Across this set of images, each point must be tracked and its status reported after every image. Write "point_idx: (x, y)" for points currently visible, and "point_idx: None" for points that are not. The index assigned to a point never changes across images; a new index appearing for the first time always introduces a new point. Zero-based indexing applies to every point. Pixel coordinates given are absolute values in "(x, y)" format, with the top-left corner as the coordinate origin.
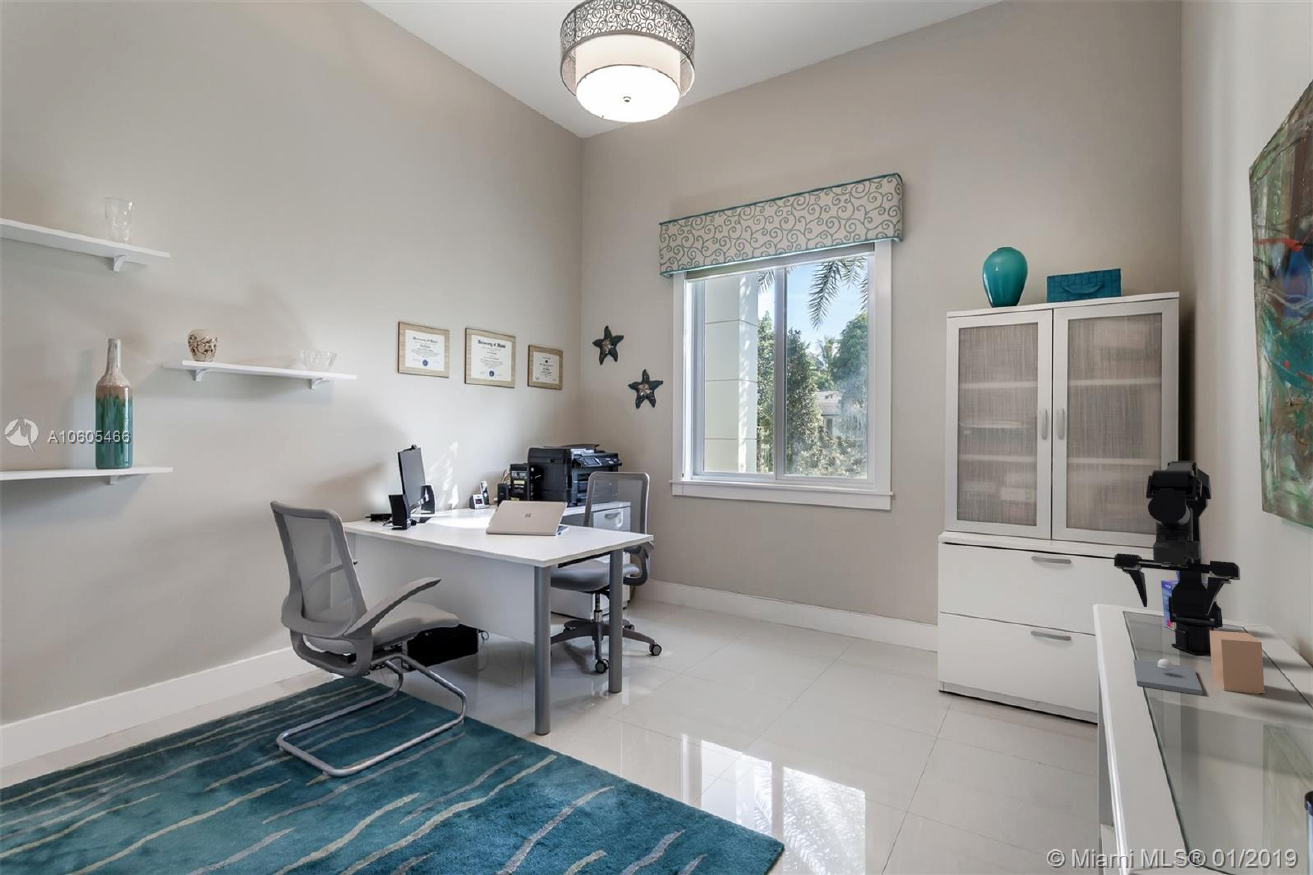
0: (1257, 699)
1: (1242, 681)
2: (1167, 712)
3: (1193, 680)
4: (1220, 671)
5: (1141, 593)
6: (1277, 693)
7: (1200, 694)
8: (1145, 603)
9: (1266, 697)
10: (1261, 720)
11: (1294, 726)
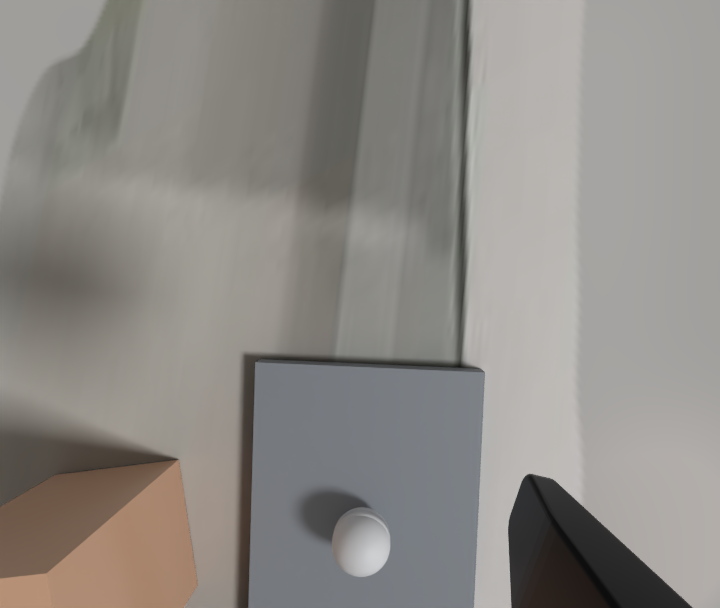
0: (87, 404)
1: (96, 482)
2: (405, 95)
3: (269, 478)
4: (153, 518)
5: (638, 586)
6: None
7: (266, 359)
8: (542, 488)
9: (55, 443)
10: (116, 171)
11: (30, 161)
